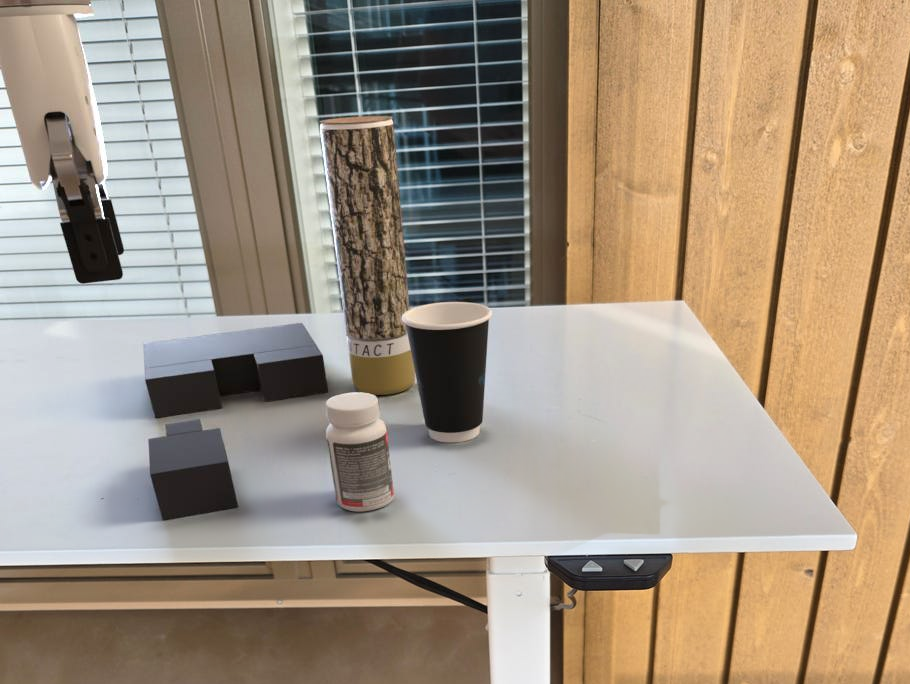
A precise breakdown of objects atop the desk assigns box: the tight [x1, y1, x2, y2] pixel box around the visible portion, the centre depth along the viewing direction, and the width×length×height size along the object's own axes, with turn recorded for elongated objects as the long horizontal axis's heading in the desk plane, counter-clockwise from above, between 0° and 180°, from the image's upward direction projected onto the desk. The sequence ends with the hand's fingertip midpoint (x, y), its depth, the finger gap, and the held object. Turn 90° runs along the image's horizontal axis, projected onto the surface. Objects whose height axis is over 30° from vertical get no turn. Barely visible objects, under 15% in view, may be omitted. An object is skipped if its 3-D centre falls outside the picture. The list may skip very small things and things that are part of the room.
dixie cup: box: [402, 301, 493, 444], centre depth 81 cm, size 8×8×11 cm
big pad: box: [142, 322, 329, 419], centre depth 97 cm, size 18×14×4 cm
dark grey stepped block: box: [147, 418, 239, 521], centre depth 75 cm, size 6×11×4 cm, turn 18°
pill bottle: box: [325, 391, 395, 513], centre depth 70 cm, size 5×5×8 cm
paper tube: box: [319, 115, 416, 396], centre depth 88 cm, size 7×7×25 cm
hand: (102, 267), depth 68 cm, fingers open, 9 cm apart
